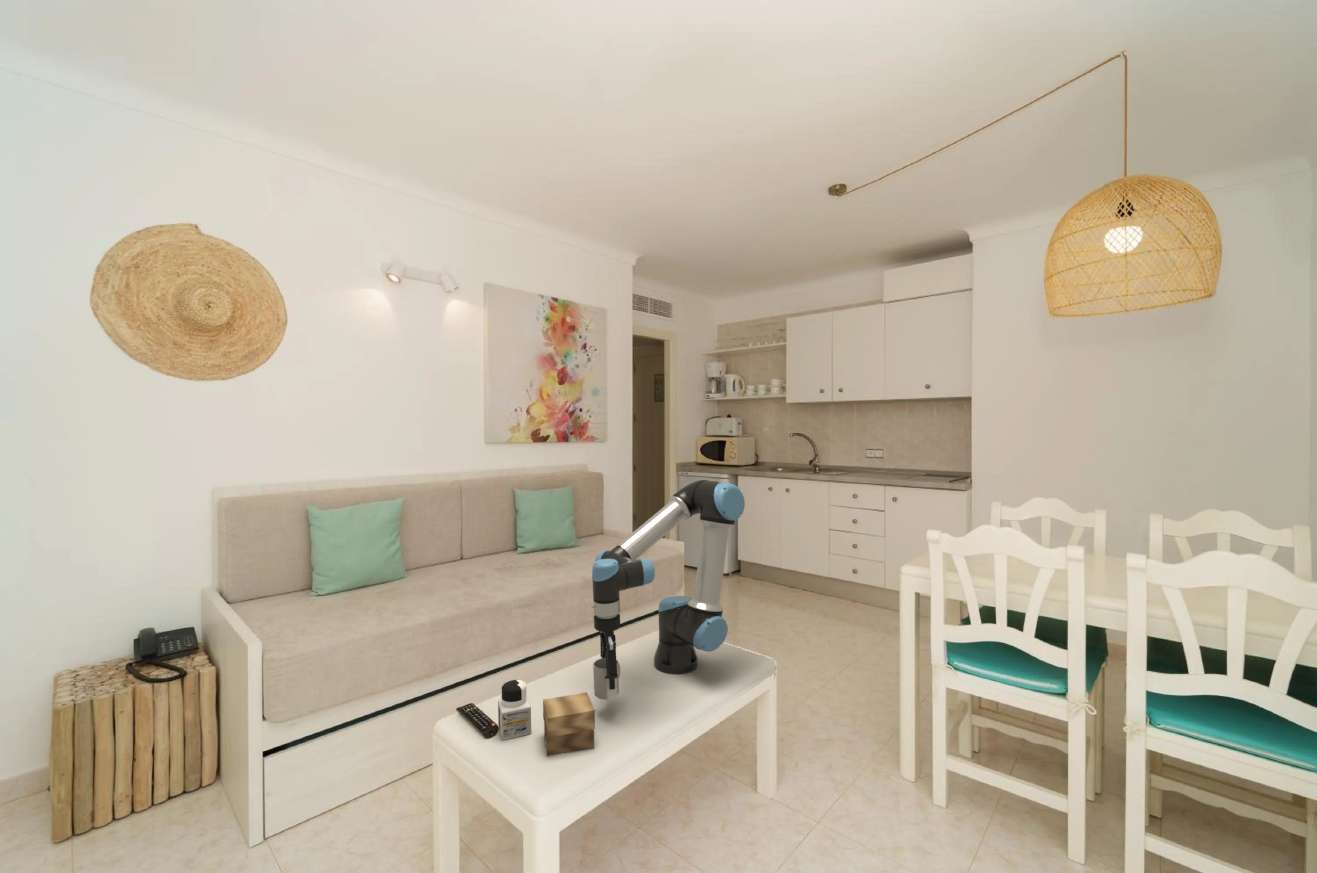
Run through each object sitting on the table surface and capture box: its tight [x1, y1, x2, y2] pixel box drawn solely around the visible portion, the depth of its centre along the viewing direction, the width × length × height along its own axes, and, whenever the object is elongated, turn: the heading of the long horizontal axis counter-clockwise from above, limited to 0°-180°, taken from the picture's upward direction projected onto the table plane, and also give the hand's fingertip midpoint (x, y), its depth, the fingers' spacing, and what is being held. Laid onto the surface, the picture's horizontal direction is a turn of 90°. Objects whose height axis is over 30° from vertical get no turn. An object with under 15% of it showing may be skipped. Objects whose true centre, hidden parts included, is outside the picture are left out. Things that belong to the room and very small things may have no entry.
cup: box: [592, 657, 621, 700], centre depth 161 cm, size 7×10×9 cm
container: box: [497, 679, 532, 741], centre depth 152 cm, size 8×8×13 cm
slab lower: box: [543, 722, 595, 757], centre depth 147 cm, size 12×10×5 cm
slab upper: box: [542, 692, 596, 738], centre depth 147 cm, size 12×10×5 cm
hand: (609, 691), depth 161 cm, fingers closed on cup, 8 cm apart
